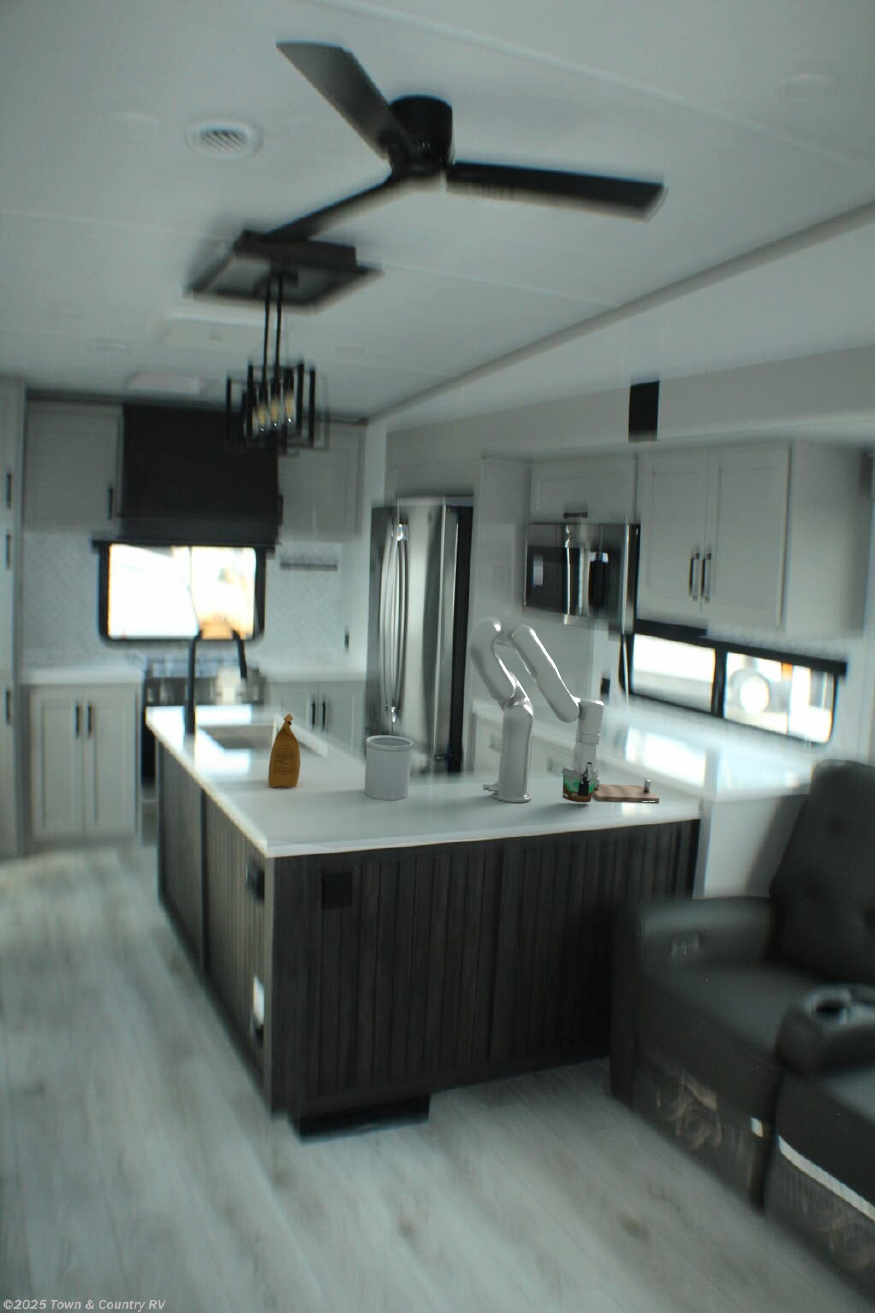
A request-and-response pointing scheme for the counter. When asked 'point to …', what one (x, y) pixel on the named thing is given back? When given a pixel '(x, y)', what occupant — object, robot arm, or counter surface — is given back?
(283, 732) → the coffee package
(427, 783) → the counter surface
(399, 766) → the utensil holder
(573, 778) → the food container
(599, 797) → the board
